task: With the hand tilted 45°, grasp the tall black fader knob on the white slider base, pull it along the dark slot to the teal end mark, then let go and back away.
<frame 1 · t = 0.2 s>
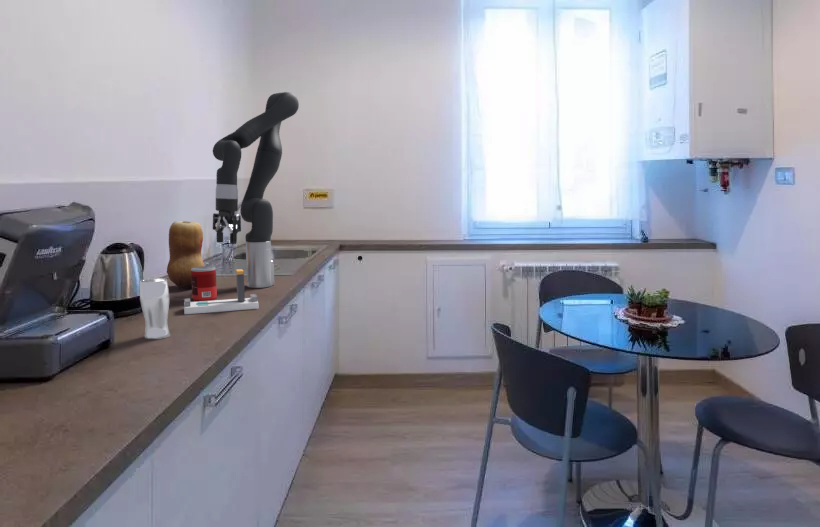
hand: (226, 243, 207), 18 cm above the countertop, tool pointing down, fingers open, 8 cm apart
white slider base: (221, 308, 183), on the countertop
beer glass: (157, 337, 151), on the countertop
canned food: (204, 300, 196), on the countertop
fader: (240, 285, 184), point 7 cm above the countertop, slide at 0.0 cm
butternut squash: (187, 287, 218), on the countertop
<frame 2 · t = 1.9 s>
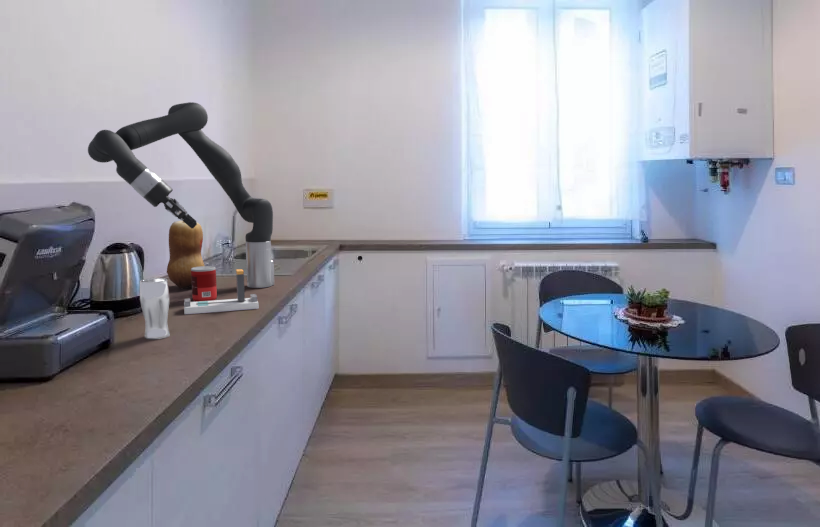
hand: (194, 225, 177), 27 cm above the countertop, tool tilted 45°, fingers open, 8 cm apart
nothing on the countertop moved.
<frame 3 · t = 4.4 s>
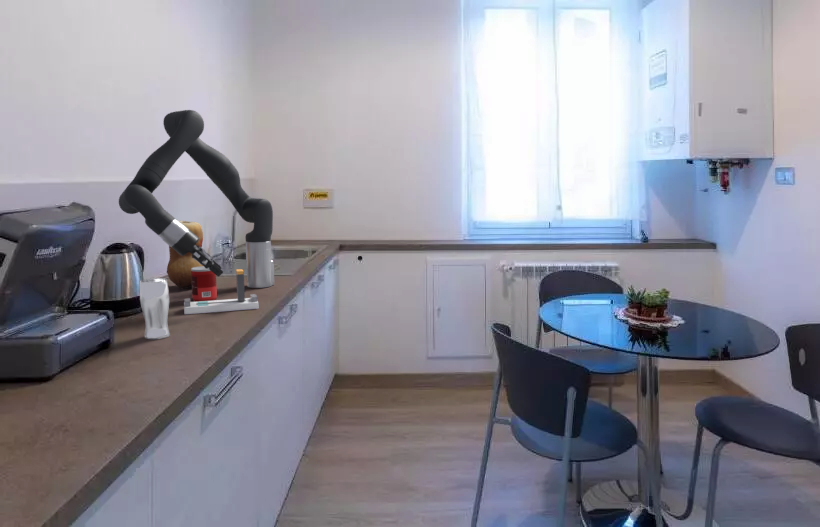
hand: (220, 272, 181), 12 cm above the countertop, tool tilted 45°, fingers open, 8 cm apart
nothing on the countertop moved.
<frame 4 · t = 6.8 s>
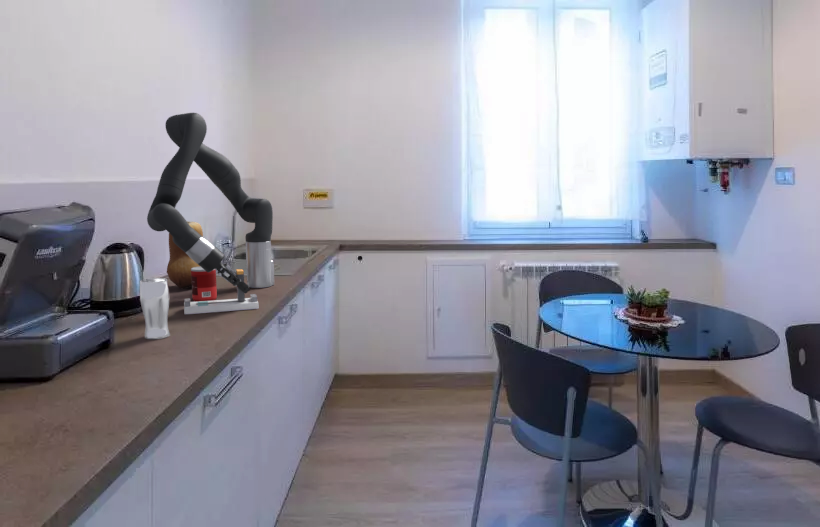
hand: (246, 289, 185), 6 cm above the countertop, tool tilted 45°, fingers closed on fader, 4 cm apart
fader: (240, 285, 184), point 7 cm above the countertop, slide at 0.0 cm, touching gripper
everything else where it was.
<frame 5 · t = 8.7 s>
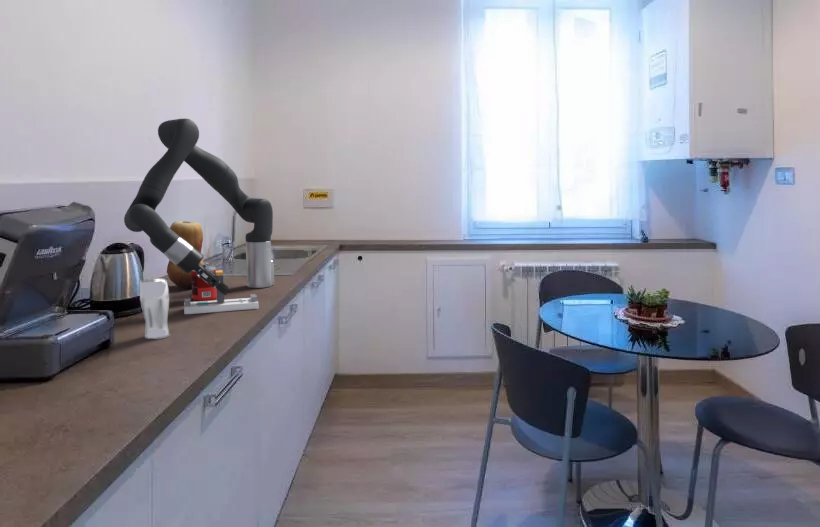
hand: (226, 291, 183), 6 cm above the countertop, tool tilted 45°, fingers closed on fader, 4 cm apart
fader: (219, 286, 182), point 7 cm above the countertop, slide at 6.2 cm, touching gripper
everything else where it was.
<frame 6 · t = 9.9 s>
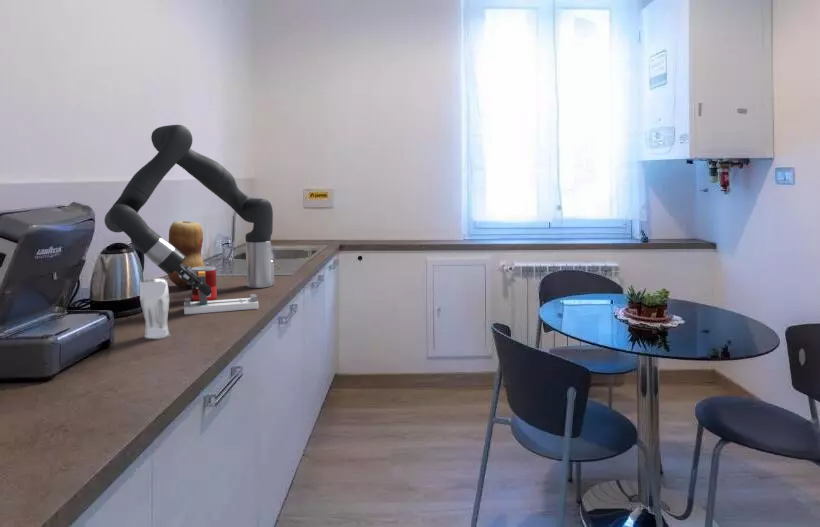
hand: (209, 292, 181), 6 cm above the countertop, tool tilted 45°, fingers closed on fader, 4 cm apart
fader: (202, 287, 180), point 7 cm above the countertop, slide at 11.4 cm, touching gripper
everything else where it was.
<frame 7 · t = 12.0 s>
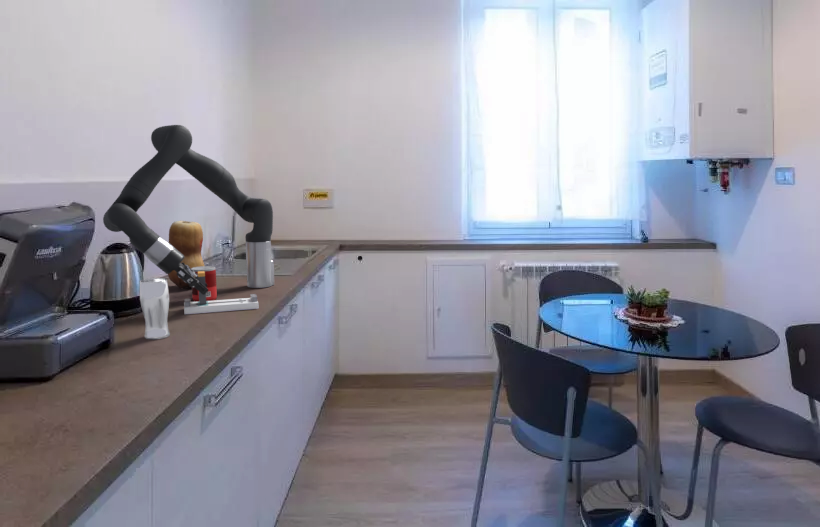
hand: (205, 289, 180), 6 cm above the countertop, tool tilted 45°, fingers open, 8 cm apart
fader: (202, 287, 180), point 7 cm above the countertop, slide at 11.5 cm
everything else where it was.
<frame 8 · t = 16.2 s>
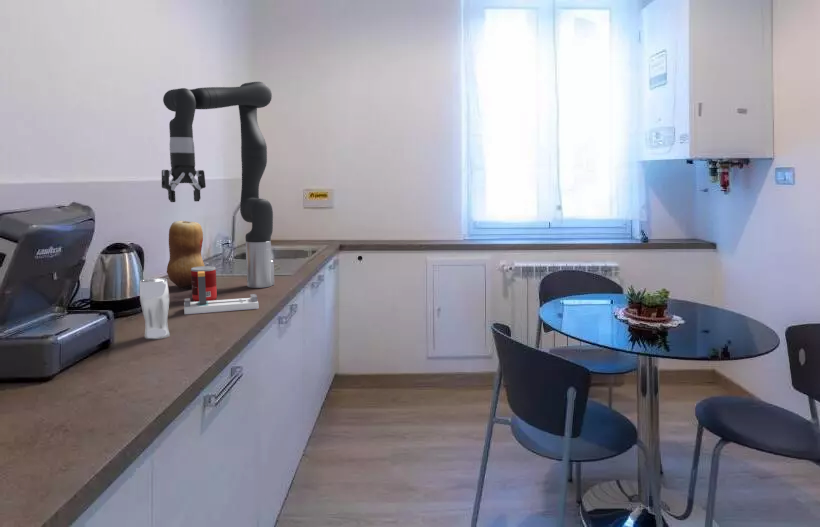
hand: (185, 201, 191), 33 cm above the countertop, tool pointing down, fingers open, 8 cm apart
nothing on the countertop moved.
at the end: fader slide at 11.5 cm; the gripper is holding nothing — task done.
